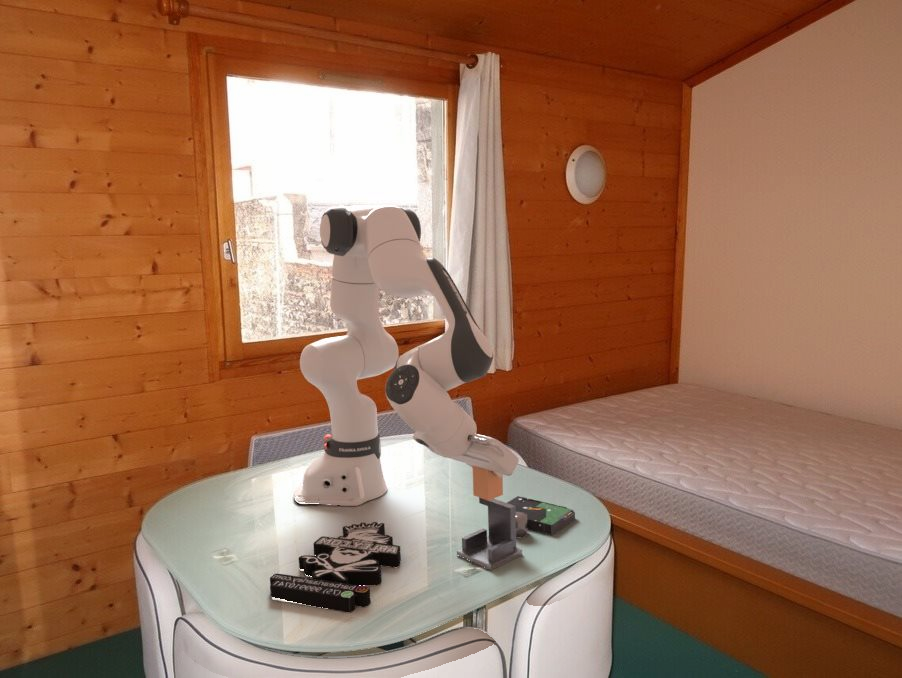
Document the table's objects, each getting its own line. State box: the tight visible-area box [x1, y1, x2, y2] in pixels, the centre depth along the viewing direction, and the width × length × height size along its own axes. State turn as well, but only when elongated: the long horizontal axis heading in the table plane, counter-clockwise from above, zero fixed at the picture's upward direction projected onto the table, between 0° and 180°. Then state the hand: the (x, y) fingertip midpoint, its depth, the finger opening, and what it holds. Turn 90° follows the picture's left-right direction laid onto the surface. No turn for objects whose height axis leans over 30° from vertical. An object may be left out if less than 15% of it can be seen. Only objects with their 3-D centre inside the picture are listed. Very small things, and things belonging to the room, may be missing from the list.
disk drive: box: [506, 495, 576, 536], centre depth 154 cm, size 10×3×15 cm
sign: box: [269, 521, 402, 613], centre depth 135 cm, size 19×3×30 cm
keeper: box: [456, 497, 523, 571], centre depth 138 cm, size 9×10×10 cm
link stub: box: [516, 512, 528, 538], centre depth 147 cm, size 4×4×4 cm
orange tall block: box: [472, 466, 504, 501], centre depth 136 cm, size 4×4×9 cm
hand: (489, 470), depth 136 cm, fingers closed on orange tall block, 4 cm apart
